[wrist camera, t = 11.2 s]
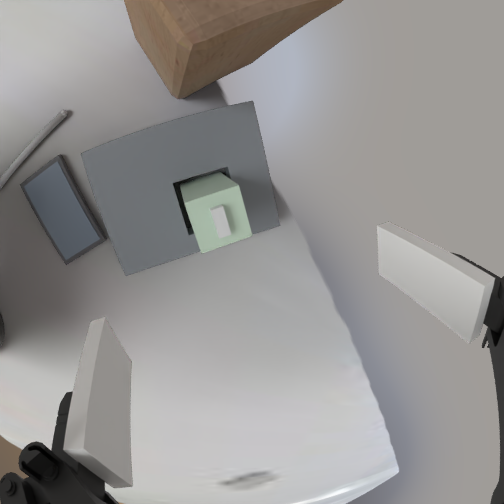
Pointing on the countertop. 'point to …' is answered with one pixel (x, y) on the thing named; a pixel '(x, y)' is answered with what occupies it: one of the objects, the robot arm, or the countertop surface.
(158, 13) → the block
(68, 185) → the phone
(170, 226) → the plate
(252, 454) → the countertop surface
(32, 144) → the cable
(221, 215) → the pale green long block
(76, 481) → the robot arm
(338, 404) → the countertop surface
